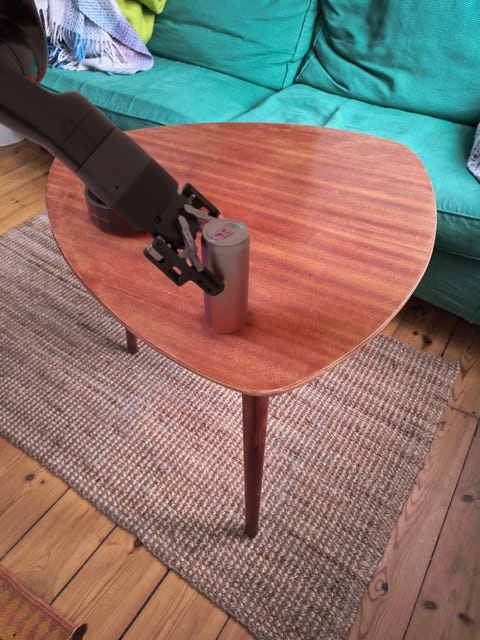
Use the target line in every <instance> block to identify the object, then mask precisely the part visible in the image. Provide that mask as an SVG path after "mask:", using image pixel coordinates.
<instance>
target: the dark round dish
mask: <svg viewBox="0 0 480 640" xmlns="http://www.w3.org/2000/svg"><path fill="white" fill-rule="evenodd" d="M83 196H84V200H85V203H86V207H87V212H88V216H89V219H90V221H91V222H92V225H93V226H95V228H97V229H98V230H100V231H102V232H104V233H108V234H111V235H118V236H135V235H137V236H138V235H143V234H147V233H149V232H148V231H146V230H136V229H134V228H133V227H132V226H131V225H130V224H129V223H127V222H126V221H125V220H124V219H123V218H122V217H120V216H119V215H118V214H117V213H116V212H115V211H113V210H112V209H111V208H110V207H109V206H108V205H106V204H105V203H104V202H103V201H102V200H101V199H100V198H98V197H97V196H96V195H95V194H94V193H93V192H92V191H91V190H89V188H88V187H87V186H86V185H85V186H84V190H83Z"/></svg>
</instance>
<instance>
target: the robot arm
mask: <svg viewBox="0 0 480 640" xmlns="http://www.w3.org/2000/svg"><path fill="white" fill-rule="evenodd" d="M48 67H49V44H48V39H47V35H46V31H45V29H44V26H43V22H42V19H41V17H40V13H39V10H38V8H37V4H36V1H35V0H0V125H1V126H2V127H5V128H6V129H9V130H11V131H12V132H15V133H16V134H18V135H20V136H22V137H23V138H24V139H28V140H29V141H31V142H34V143H35V144H37V145H39V146H41V147H42V148H43V149H45V150H47V152H49V154H51V155H52V156H53V157H55V159H57V160H58V161H59V162H60V163H62V164H63V165H64V166H65V168H67V169H68V170H69V171H70V172H72V173H73V174H75V176H76V177H77V178H78V179H79V180H80V181H81V182H82V183H83V184H84V185H85V186H87V187H88V188H89V190H91V191H92V192H93V193H94V194H95V195H96V196H97V197H98V198H100V199H101V200H102V201H103V202H104V203H105V204H106V205H108V206H109V207H110V208H111V209H112V210H113V211H115V212H116V213H117V214H118V215H119V216H120V217H122V218H123V219H124V220H125V221H126V222H127V223H129V224H130V225H131V226H132V227H133V228H134V229H136V230H146V231H148V232H147V233H148V234H149V235H150V236H151V238H152V239H153V240H152V242H151V243H150V244H149V245H147V246H146V247H145V248H144V249H143V250H142V254H143V256H144V257H145V258H146V259H147V260H148V261H149V262H150V263H152V264H153V265H154V266H155V267H156V268H157V269H158V270H159V271H160V272H161V273H163V274H164V275H165V277H167V278H168V279H169V280H170V281H171V282H172V283H174V285H176V286H177V287H179V288H180V287H183V286H184V285H185V284H187V283H188V282H190V281H191V282H193V283H194V284H195V285H196V286H198V287H199V288H200V289H201V290H202V291H203V292H204V291H205V292H206V293H207V294H208V295H210V296H217V295H218V294H220V293H221V292H223V291H224V288H225V284H224V283H223V282H222V281H221V280H219V279H218V278H217V277H216V276H215V275H214V274H213V273H212V272H210V271H209V270H208V269H207V268H206V267H203V265H202V260H200V258H199V257H200V256H199V255H198V251H199V247H198V245H197V243H196V240H197V235H198V234H200V235H202V229H203V227H204V226H205V225H206V224H207V223H208V222H210V221H212V220H215V219H219V218H218V217H219V216H220V215H221V211H220V209H218V208H217V206H215V205H214V204H213V203H212V202H211V201H210V200H209V199H207V197H206V196H205V195H203V194H202V193H201V192H200V191H199V190H198V189H197V188H196V187H194V185H192V184H191V182H186V183H185V184H184V185H183V186H182V187H180V185H179V182H178V181H177V179H176V178H174V177H173V176H172V175H171V174H170V173H169V171H167V170H166V169H165V168H164V167H163V166H162V165H161V164H160V163H159V162H158V161H157V160H155V158H153V156H151V154H149V153H148V152H147V150H145V149H144V148H143V147H142V146H141V145H140V144H139V143H138V142H137V141H136V140H135V139H134V138H132V137H131V136H130V135H128V134H127V133H126V132H124V131H123V130H121V129H120V128H119V127H118V126H116V124H115V123H114V122H113V121H112V120H111V119H110V118H109V117H107V116H106V115H105V113H103V112H102V111H101V110H100V109H99V107H97V106H96V105H95V104H94V103H93V102H92V101H91V100H89V99H88V98H87V97H86V96H85V95H83V94H82V93H80V92H78V91H75V90H67V91H64V92H63V91H62V92H58V93H56V92H51V91H49V90H47V89H45V88H44V87H42V86H40V83H42V81H43V79H44V78H45V76H46V74H47V71H48ZM179 187H180V188H179ZM202 208H204V209H206V210H207V211H208V212H207V211H204V210H201V209H202ZM179 251H180V252H179ZM188 260H189V262H190V264H191V265H189V264H188ZM174 268H176V269H178V271H180V273H178V271H176V270H175V269H174Z"/></svg>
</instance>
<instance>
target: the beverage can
mask: <svg viewBox="0 0 480 640" xmlns="http://www.w3.org/2000/svg"><path fill="white" fill-rule="evenodd" d="M249 231H250V230H249V228H248V226H247V225H246V224H245V223H244V222H243V221H240V220H238V219H235V218H229V217H222V218H221V217H220V218H218V219H215V220H212V221H210V222H208V223H207V224H206V225H205V226H204V227H203V229H202V234H200V235H201V236H200V252H201V253H200V255H201V263H202V265H203V267H206V268H207V269H208V270H209V271H210V272H212V273H213V274H214V275H215V276H216V277H217V278H218V279H219V280H221V281H222V282H223V283H224V284H225V288H224V291H223V292H221V293H220V294H218V295H217V296H210V295H208V294H207V293H206V292H205V291H203V305H204V306H203V307H204V320H205V322H206V324H207V326H209V328H211V329H212V330H213V331H215V332H218V333H220V334H231V333H235V332H237V331H239V330H240V329H242V328H243V327H244V326H245V325H246V324H247V321H248V317H249V316H248V313H249V312H248V311H249V285H250V282H249V280H250V252H251V251H250V249H251V237H250V233H249Z"/></svg>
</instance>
